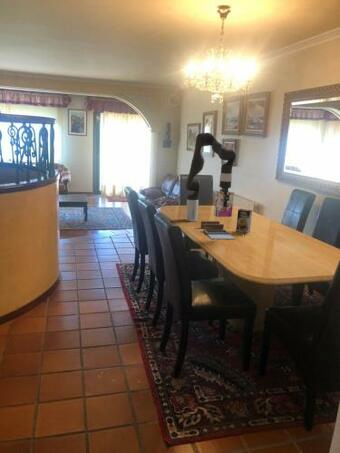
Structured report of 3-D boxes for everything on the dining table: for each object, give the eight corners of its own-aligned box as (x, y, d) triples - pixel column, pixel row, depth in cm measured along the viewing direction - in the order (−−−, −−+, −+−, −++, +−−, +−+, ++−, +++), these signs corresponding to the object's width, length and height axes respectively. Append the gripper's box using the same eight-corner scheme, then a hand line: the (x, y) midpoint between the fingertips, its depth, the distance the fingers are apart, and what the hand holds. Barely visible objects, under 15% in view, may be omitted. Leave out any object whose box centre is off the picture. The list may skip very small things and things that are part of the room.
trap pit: (203, 231, 263) (203, 229, 262) (224, 231, 266) (225, 229, 265) (207, 235, 253) (207, 232, 253) (229, 235, 256) (229, 232, 256)
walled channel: (200, 227, 274) (200, 221, 273) (218, 227, 277) (219, 221, 276) (204, 231, 264) (204, 224, 263) (223, 231, 266) (223, 224, 265)
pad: (207, 235, 252) (207, 234, 252) (230, 235, 255) (230, 234, 255) (211, 239, 243) (211, 238, 242) (235, 239, 246) (235, 238, 245)
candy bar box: (215, 216, 242) (217, 191, 239) (213, 215, 247) (215, 190, 243) (232, 217, 244) (234, 192, 241) (229, 215, 249) (231, 191, 245)
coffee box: (235, 231, 268) (237, 209, 264) (238, 229, 274) (240, 208, 270) (247, 233, 264) (250, 211, 260) (250, 231, 269) (252, 209, 266)
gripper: (216, 179, 247) (214, 204, 250) (223, 181, 233) (221, 207, 237) (227, 179, 248) (225, 204, 252) (234, 181, 234) (232, 208, 238)
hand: (223, 205), depth 244 cm, fingers closed on candy bar box, 5 cm apart
